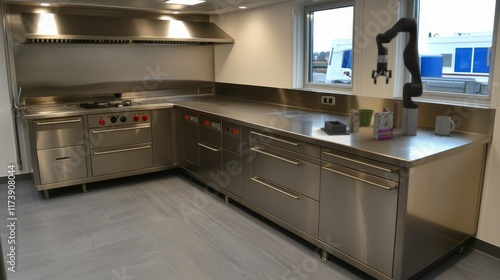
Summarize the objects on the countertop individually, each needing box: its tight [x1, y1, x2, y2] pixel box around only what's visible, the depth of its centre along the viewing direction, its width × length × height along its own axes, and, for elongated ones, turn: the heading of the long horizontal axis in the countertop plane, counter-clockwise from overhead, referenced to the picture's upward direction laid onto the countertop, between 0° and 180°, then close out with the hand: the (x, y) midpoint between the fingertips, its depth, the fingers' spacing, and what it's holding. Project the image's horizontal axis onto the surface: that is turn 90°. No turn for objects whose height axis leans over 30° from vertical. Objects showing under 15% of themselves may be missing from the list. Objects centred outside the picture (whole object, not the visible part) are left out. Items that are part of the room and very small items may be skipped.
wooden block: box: [382, 101, 400, 129], centre depth 280 cm, size 4×11×18 cm, turn 44°
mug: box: [434, 115, 456, 136], centre depth 254 cm, size 12×8×11 cm
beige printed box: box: [348, 109, 360, 134], centre depth 266 cm, size 10×3×14 cm, turn 5°
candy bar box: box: [372, 111, 394, 141], centre depth 242 cm, size 11×5×16 cm, turn 114°
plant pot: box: [356, 108, 375, 127], centre depth 286 cm, size 12×12×11 cm
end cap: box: [320, 120, 352, 136], centre depth 266 cm, size 22×14×6 cm, turn 5°
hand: (381, 84), depth 291 cm, fingers open, 8 cm apart
